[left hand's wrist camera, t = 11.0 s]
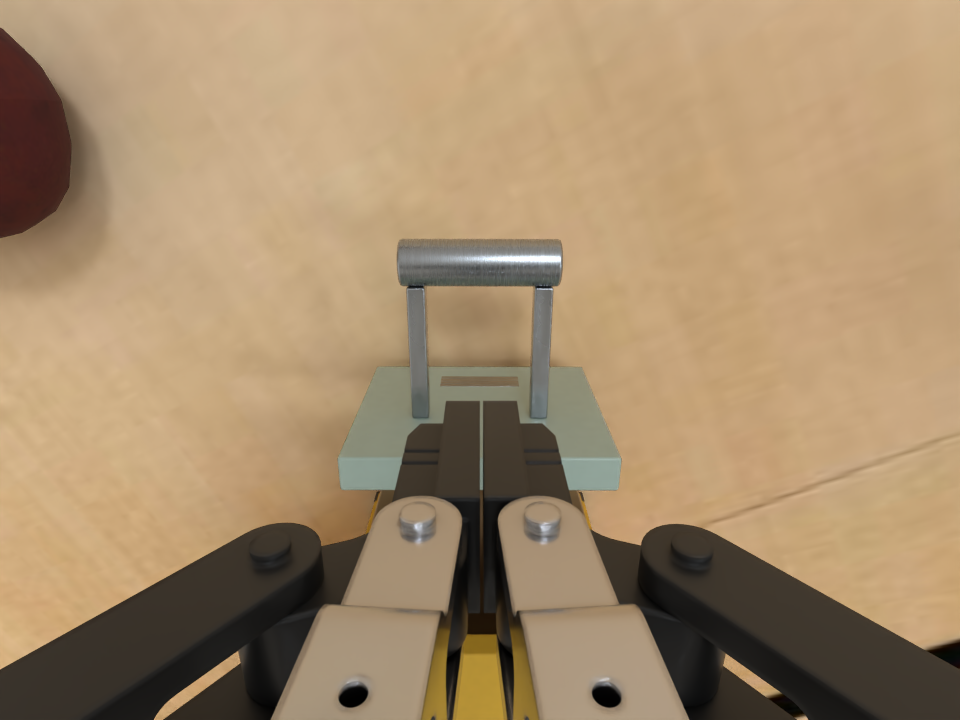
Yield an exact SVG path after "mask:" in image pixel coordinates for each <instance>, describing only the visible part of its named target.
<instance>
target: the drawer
mask: <svg viewBox="0 0 960 720" xmlns="http://www.w3.org/2000/svg"><path fill="white" fill-rule="evenodd" d="M562 270H563V250H562V244H561V241H560V240H558V239H401V240H399V243H398V247H397V273H398V280H399V283H400V285H401V286H408V287H407V289H406V294H407V316H408V338H409V360H410V367H377V369H376V371H375V374H374V376H373V378H372V381H371V383H370V385H369V388H368V390H367V392H366V394H365V397H364V399H363V401H362V404H361V406H360V408H359V410H358V413H357V415H356V417H355V420H354V422H353V424H352V427H351V429H350V431H349V433H348V436H347V438H346V440H345V443H344V445H343V447H342V449H341V452H340V454H339V456H338V469H339V479H340V488H341V489H342V490H381V491H380V495H379V498H378V502H377V505H376V509H375V513H374V516H373V520H372V524H373V521H374V519H375V517H376V515H377V514H378V513H379V511H380V510H381V509H383V508H384V507H385V506H387V505H388V504H390V503H392V500H393V495H394V491H395V487H396V483H397V479H398V474H399V470H400V466H401V464H402V458H403V453H404V449H405V445H406V441H407V436H408V435H409V434H410V433H411V432H412V431H413V430H414V429H415V428H416V427H417V426H418V425H420V424H421V423H443V420H444V412H445V404H446V401H480V613H468V630H467V634H496V613H484V572H483V401H517V404H518V411H519V418H520V423H543V424H544V425H545V426H546V427H547V428H548V429H549V430H550V431H551V432H552V433H553V434H554V435H555V436H556V440H557V444H558V448H559V453H560V456H561V460H562V464H563V468H564V472H565V476H566V480H567V484H568V488H569V492H570V496H571V500H572V504H573V506H575V507H576V508H577V509H579V510H580V511H581V513H582V514H583V515H584V517H585V513H584V510H583V506H582V502H581V499H580V495H579V491H578V490H618V488H619V479H620V470H621V460H622V459H621V457H620V454H619V452H618V450H617V447H616V445H615V443H614V441H613V438H612V436H611V434H610V431H609V429H608V427H607V424H606V422H605V420H604V418H603V415H602V413H601V411H600V408H599V406H598V404H597V401H596V399H595V397H594V394H593V392H592V390H591V388H590V385H589V383H588V381H587V378H586V376H585V374H584V371H583V369H582V367H550V348H551V327H552V307H553V287H552V286H559V285H560V282H561V278H562ZM426 286H533V308H532V335H531V363H530V367H429V354H428V324H427V293H426ZM585 519H586V517H585ZM372 524H371V526H372Z"/></svg>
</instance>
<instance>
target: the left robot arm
mask: <svg viewBox="0 0 960 720" xmlns="http://www.w3.org/2000/svg"><path fill="white" fill-rule="evenodd" d="M483 572H484V613H496V658H497V667H498V675H499V683H500V692H501V700H502V708H503V717H504V720H796V719H795V718H794V717H792V716H791V715H790V714H788V713H787V712H785V711H784V710H783V709H781V708H780V707H779V706H777V705H776V704H774V703H773V702H772V701H770V700H769V699H768V698H766V697H765V696H764V695H762V694H761V693H759V692H758V691H757V690H755V689H754V688H753V687H751V686H750V685H748V684H747V683H746V682H744V681H743V680H742V679H740V678H739V677H738V676H736V675H735V674H733V673H732V672H731V671H729V670H728V669H727V668H725V667H724V666H723V664H724V659H725V654H728V655H729V656H730V657H732V658H733V659H735V660H736V661H737V662H739V663H740V664H742V665H743V666H744V667H746V668H747V669H749V670H750V671H752V672H753V673H754V674H756V675H757V676H759V677H760V678H761V679H763V680H764V681H766V682H767V683H768V684H770V685H771V686H773V687H774V688H775V689H777V690H778V691H780V692H781V693H782V694H784V695H785V696H787V697H788V698H789V699H791V700H792V701H793V702H794V703H795V704H796V705H797V706H799V708H800V709H801V710H802V711H803V712H804V714H805V715H806V716H807V718H808V720H960V670H959V669H958V668H956V667H954V666H952V665H950V664H949V663H947V662H945V661H943V660H941V659H940V658H938V657H936V656H934V655H932V654H931V653H929V652H927V651H925V650H923V649H922V648H920V647H918V646H916V645H914V644H913V643H911V642H909V641H907V640H905V639H904V638H902V637H900V636H898V635H896V634H895V633H893V632H891V631H889V630H887V629H886V628H884V627H882V626H880V625H878V624H877V623H875V622H873V621H871V620H869V619H868V618H866V617H864V616H862V615H860V614H859V613H857V612H855V611H853V610H851V609H850V608H848V607H846V606H844V605H842V604H841V603H839V602H837V601H835V600H833V599H832V598H830V597H828V596H826V595H824V594H823V593H821V592H819V591H817V590H815V589H814V588H812V587H810V586H808V585H806V584H805V583H803V582H801V581H799V580H797V579H796V578H794V577H792V576H790V575H788V574H787V573H785V572H783V571H781V570H779V569H778V568H776V567H774V566H772V565H770V564H769V563H767V562H765V561H763V560H761V559H760V558H758V557H756V556H754V555H752V554H751V553H749V552H747V551H745V550H743V549H742V548H740V547H738V546H736V545H734V544H733V543H731V542H729V541H727V540H725V539H724V538H722V537H720V536H718V535H716V534H714V533H712V532H710V531H708V530H705V529H702V528H699V527H695V526H690V525H684V524H668V525H662V526H659V527H656V528H654V529H652V530H650V531H649V532H648V533H647V534H646V535H645V536H644V538H643V540H642V544H641V546H640V545H635V544H631V543H626V542H622V541H618V540H614V539H610V538H607V537H605V536H602V535H600V534H598V533H596V532H594V531H593V530H591V529H589V526H588V524H587V521H586V519H585V517H584V515H583V514H582V513H581V511H580V510H579V509H577V508H576V507H575V506H573V504H572V500H571V496H570V492H569V488H568V484H567V480H566V476H565V472H564V468H563V464H562V460H561V456H560V453H559V448H558V444H557V440H556V436H555V435H554V434H553V433H552V432H551V431H550V430H549V429H548V428H547V427H546V426H545V425H544V424H543V423H520V418H519V411H518V404H517V401H483ZM468 613H480V401H446V404H445V412H444V420H443V423H421V424H420V425H418V426H417V427H416V428H415V429H414V430H413V431H412V432H411V433H410V434H409V435H408V436H407V441H406V445H405V449H404V453H403V458H402V464H401V466H400V470H399V474H398V479H397V483H396V487H395V491H394V495H393V500H392V503H390V504H388V505H387V506H385V507H384V508H383V509H381V510H380V511H379V513H378V514H377V515H376V517H375V519H374V521H373V524H372V526H371V529H370V531H369V533H367V534H364V535H362V536H360V537H357V538H355V539H351V540H347V541H343V542H339V543H334V544H330V545H325V546H321V541H320V539H319V536H318V535H317V534H316V532H315V531H313V530H312V529H311V528H309V527H307V526H304V525H300V524H295V523H276V524H271V525H266V526H263V527H259V528H257V529H254V530H252V531H250V532H247V533H245V534H244V535H242V536H240V537H238V538H236V539H235V540H233V541H231V542H229V543H227V544H226V545H224V546H222V547H220V548H218V549H217V550H215V551H213V552H211V553H209V554H208V555H206V556H204V557H202V558H200V559H199V560H197V561H195V562H193V563H191V564H190V565H188V566H186V567H184V568H182V569H181V570H179V571H177V572H175V573H173V574H172V575H170V576H168V577H166V578H164V579H163V580H161V581H159V582H157V583H155V584H154V585H152V586H150V587H148V588H146V589H145V590H143V591H141V592H139V593H137V594H136V595H134V596H132V597H130V598H128V599H127V600H125V601H123V602H121V603H119V604H118V605H116V606H114V607H112V608H110V609H109V610H107V611H105V612H103V613H101V614H100V615H98V616H96V617H94V618H92V619H91V620H89V621H87V622H85V623H83V624H82V625H80V626H78V627H76V628H74V629H73V630H71V631H69V632H67V633H65V634H64V635H62V636H60V637H58V638H56V639H55V640H53V641H51V642H49V643H47V644H46V645H44V646H42V647H40V648H38V649H37V650H35V651H33V652H31V653H29V654H28V655H26V656H24V657H22V658H20V659H19V660H17V661H15V662H13V663H11V664H10V665H8V666H6V667H4V668H2V669H1V670H0V720H154V718H155V716H156V715H157V713H158V712H159V710H160V709H161V708H162V707H163V706H164V705H165V704H166V703H167V702H168V701H169V700H170V699H171V698H172V697H173V696H175V695H176V694H178V693H179V692H180V691H182V690H183V689H185V688H186V687H187V686H189V685H190V684H192V683H193V682H194V681H196V680H197V679H199V678H200V677H201V676H203V675H204V674H206V673H207V672H209V671H210V670H211V669H213V668H214V667H216V666H217V665H218V664H220V663H221V662H223V661H224V660H225V659H227V658H228V657H230V656H231V655H232V654H234V653H235V652H237V651H238V652H239V657H240V662H241V663H240V664H239V665H238V666H236V667H235V668H233V669H232V670H231V671H229V672H228V673H227V674H225V675H224V676H223V677H221V678H220V679H218V680H217V681H216V682H214V683H213V684H212V685H210V686H209V687H207V688H206V689H205V690H203V691H202V692H201V693H199V694H198V695H196V696H195V697H194V698H192V699H191V700H190V701H188V702H187V703H186V704H184V705H183V706H181V707H180V708H179V709H177V710H176V711H175V712H173V713H172V714H170V715H169V716H168V717H166V718H165V719H164V720H456V717H457V708H458V700H459V692H460V683H461V675H462V667H463V658H464V641H465V638H466V636H467V630H468Z"/></svg>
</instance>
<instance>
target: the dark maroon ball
mask: <svg viewBox="0 0 960 720" xmlns="http://www.w3.org/2000/svg"><path fill="white" fill-rule="evenodd" d="M70 162H71V139H70V135H69V131H68V127H67V123H66V119H65V114H64V110H63V106H62V102H61V99H60V97H59V96H58V94H57V92H56V91H55V89H54V87H53V86H52V84H51V82H50V80H49V79H48V77H47V75H46V74H45V72H44V70H43V69H42V68H41V66H40V65H39V64H38V63H37V62H36V61H35V60H34V58H33V57H31V56H30V55H29V54H28V53H27V52H26V51H25V50H24V49H23V48H22V47H21V46H20V45H19V44H18V43H17V42H16V41H15V40H14V39H13V38H12V37H11V36H10V35H8V34H7V33H6V32H5V31H4V30H3V29H2V28H0V238H2V237H6V236H10V235H15V234H19V233H22V232H24V231H26V230H27V229H29V228H31V227H33V226H34V225H36V224H37V223H39V222H40V221H42V220H43V219H45V218H46V217H48V216H49V215H50V214H52V213H53V212H55V211H56V209H57V208H58V206H59V204H60V202H61V200H62V199H63V197H64V195H65V193H66V192H67V190H68V188H69V178H70Z"/></svg>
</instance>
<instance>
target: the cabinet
mask: <svg viewBox="0 0 960 720" xmlns="http://www.w3.org/2000/svg"><path fill="white" fill-rule="evenodd" d="M379 495H380V493H379V492H377V493H376V496H375V500H374V506H373V509H372V513H371V516H370V520H369V523H368V527H367V530H366V534H367V533H369V531H370V529H371V524H372V520H373V516H374V513H375V509H376V505H377V502H378V498H379ZM579 495H580V499H581V502H582V506H583V510H584V513H585V517H586V521H587V524H588V526H589V529H591V530H592V528H591V524H590V521H589V517H588V514H587V510H586V507H585V504H584V498H583V494H582V492H580V493H579ZM456 720H504V717H503V708H502V700H501V692H500V683H499V675H498V667H497V658H496V634H467V636H466V638H465V641H464V658H463V667H462V675H461V683H460V692H459V700H458V708H457V717H456Z"/></svg>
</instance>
